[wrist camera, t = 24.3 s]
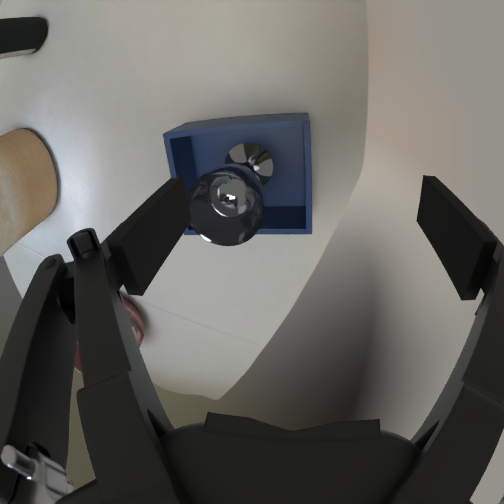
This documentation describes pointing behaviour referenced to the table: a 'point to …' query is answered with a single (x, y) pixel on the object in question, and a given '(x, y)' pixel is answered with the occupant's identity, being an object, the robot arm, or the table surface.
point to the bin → (273, 141)
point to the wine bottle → (21, 35)
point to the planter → (24, 185)
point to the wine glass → (231, 196)
